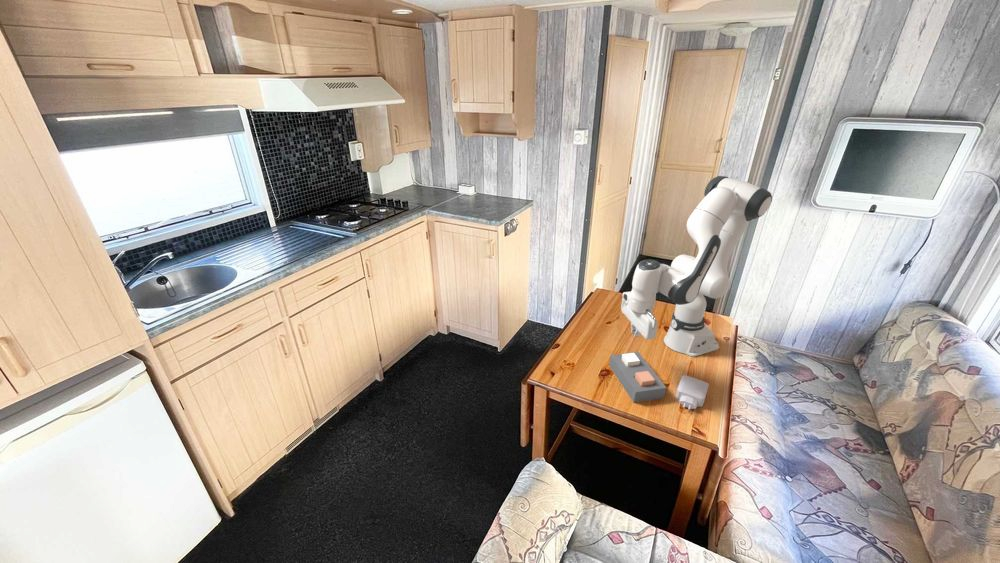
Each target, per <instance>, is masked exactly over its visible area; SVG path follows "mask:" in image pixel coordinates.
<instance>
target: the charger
mask: <svg viewBox="0 0 1000 563" xmlns="http://www.w3.org/2000/svg"><path fill="white" fill-rule="evenodd" d="M708 389H709V383H708V382H706V381H704V380H701V379H698V378H695V377H692V376H689V375H685V374H683V375H681V378H680V381H679V383H678V386H677V389H676V393H675V398H677V400H678V402H679V404H680V405H682V408H683V409H684V408H688V410H689V411H690V410H691V409H695V410H696V409H697V408H700V407H703V406H704V403H705V400H706V396H707V393H708Z"/></svg>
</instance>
